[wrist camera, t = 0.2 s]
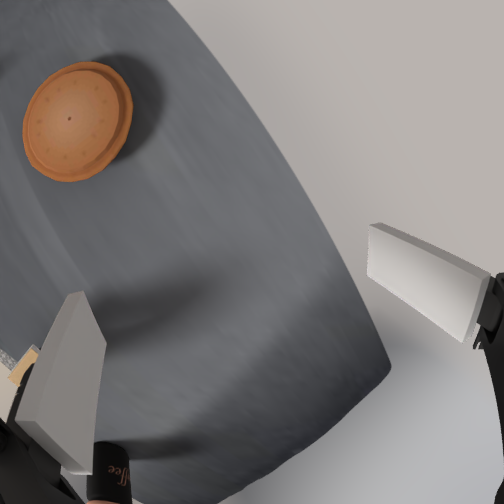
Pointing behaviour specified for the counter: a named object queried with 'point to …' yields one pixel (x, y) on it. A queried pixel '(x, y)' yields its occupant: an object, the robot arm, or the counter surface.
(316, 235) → the counter surface
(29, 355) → the staircase
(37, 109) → the pie
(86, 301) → the robot arm
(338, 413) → the counter surface
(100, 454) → the coffee jar
